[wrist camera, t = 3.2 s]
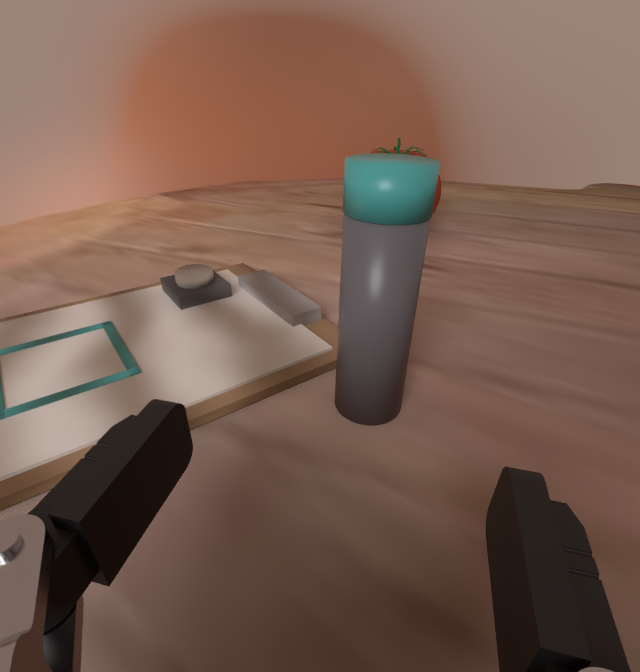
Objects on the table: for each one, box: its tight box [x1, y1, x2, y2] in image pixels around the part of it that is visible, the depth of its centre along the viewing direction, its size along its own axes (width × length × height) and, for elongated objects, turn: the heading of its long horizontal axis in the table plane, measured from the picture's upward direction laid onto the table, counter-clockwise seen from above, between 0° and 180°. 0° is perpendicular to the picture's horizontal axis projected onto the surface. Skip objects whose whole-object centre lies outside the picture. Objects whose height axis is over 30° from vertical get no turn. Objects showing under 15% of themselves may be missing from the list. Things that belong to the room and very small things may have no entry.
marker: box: [335, 153, 440, 425], centre depth 20 cm, size 4×4×12 cm
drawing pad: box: [0, 263, 338, 511], centre depth 26 cm, size 24×17×3 cm
